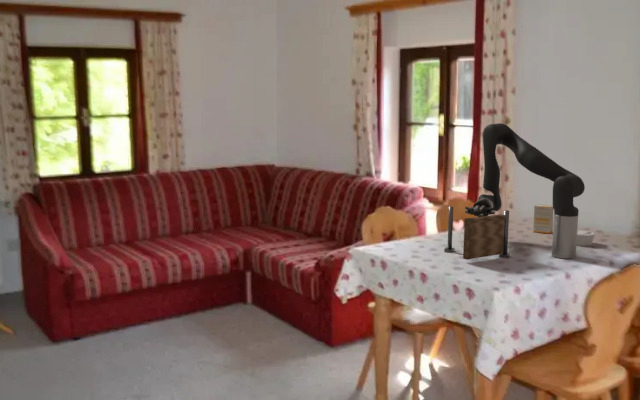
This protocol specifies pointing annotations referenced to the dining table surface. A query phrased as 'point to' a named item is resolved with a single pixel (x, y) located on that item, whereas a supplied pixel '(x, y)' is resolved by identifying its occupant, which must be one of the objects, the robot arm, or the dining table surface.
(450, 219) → the gate frame
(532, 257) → the dining table surface
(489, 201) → the robot arm
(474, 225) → the gate
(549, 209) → the supplement box
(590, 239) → the ramekin
